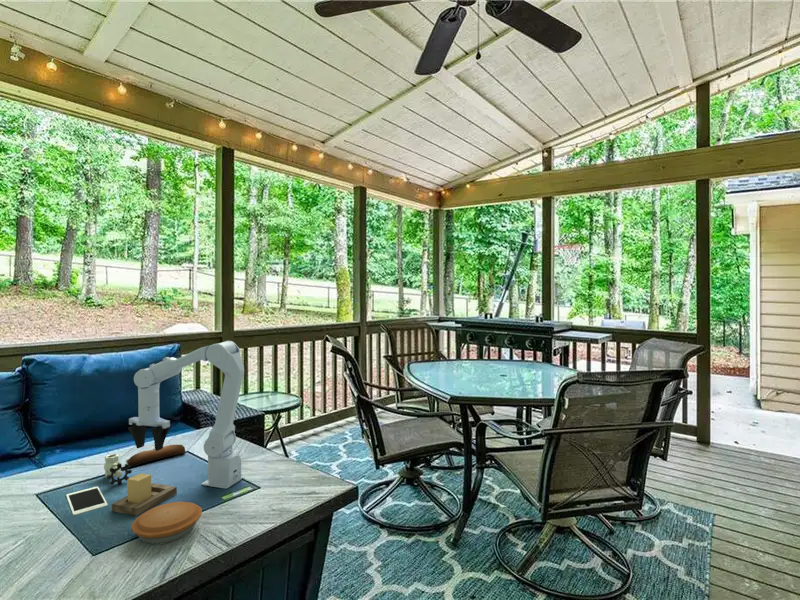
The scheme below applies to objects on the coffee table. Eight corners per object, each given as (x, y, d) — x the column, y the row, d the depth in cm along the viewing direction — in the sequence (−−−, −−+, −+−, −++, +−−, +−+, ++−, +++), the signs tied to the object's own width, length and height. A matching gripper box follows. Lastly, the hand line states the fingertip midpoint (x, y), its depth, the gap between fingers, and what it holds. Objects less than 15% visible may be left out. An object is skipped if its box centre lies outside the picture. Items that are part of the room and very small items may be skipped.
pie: (143, 559, 95) (142, 537, 95) (123, 532, 105) (123, 513, 105) (212, 530, 106) (212, 510, 106) (188, 509, 117) (188, 491, 116)
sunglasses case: (178, 448, 163) (181, 435, 160) (183, 462, 158) (186, 449, 156) (123, 461, 150) (125, 447, 148) (127, 476, 146) (129, 462, 144)
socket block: (176, 493, 126) (176, 486, 126) (137, 515, 113) (137, 508, 113) (153, 489, 128) (152, 483, 128) (111, 511, 116) (111, 503, 116)
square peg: (151, 502, 120) (151, 474, 120) (139, 509, 116) (138, 480, 116) (140, 501, 121) (140, 473, 121) (127, 507, 117) (127, 479, 117)
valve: (98, 477, 138) (107, 488, 129) (98, 457, 138) (106, 467, 129) (121, 470, 142) (132, 481, 134) (121, 451, 142) (131, 461, 134)
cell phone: (73, 517, 114) (73, 514, 114) (65, 496, 125) (65, 494, 125) (108, 506, 119) (108, 504, 119) (97, 488, 130) (97, 486, 130)
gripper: (119, 407, 132) (120, 450, 132) (156, 410, 128) (156, 455, 128) (139, 401, 139) (140, 442, 139) (175, 404, 135) (175, 447, 135)
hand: (149, 448), depth 134 cm, fingers open, 7 cm apart
